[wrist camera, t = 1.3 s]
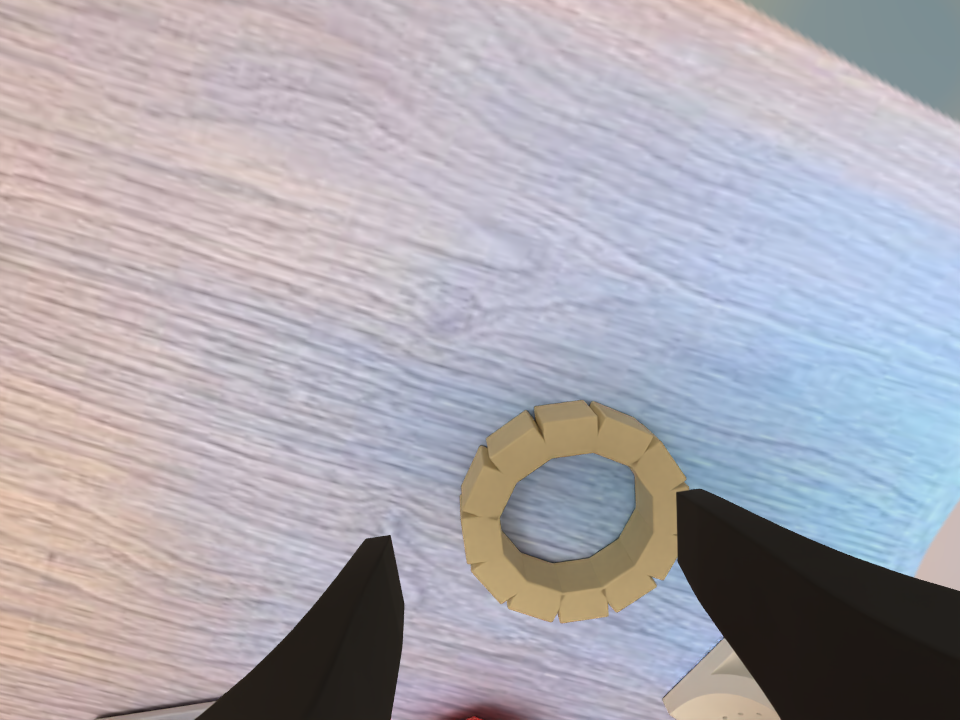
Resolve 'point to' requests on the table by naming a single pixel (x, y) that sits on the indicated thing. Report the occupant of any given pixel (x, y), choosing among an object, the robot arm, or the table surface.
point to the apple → (474, 718)
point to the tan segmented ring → (586, 581)
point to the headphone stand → (719, 691)
